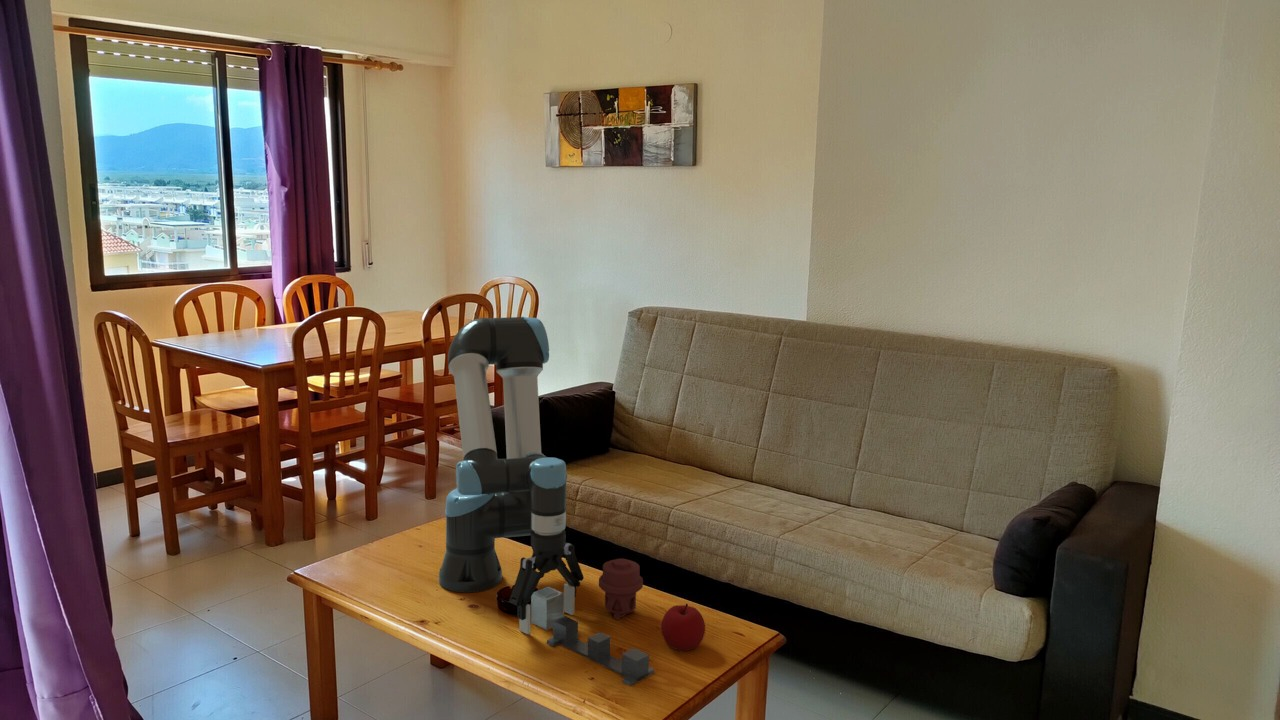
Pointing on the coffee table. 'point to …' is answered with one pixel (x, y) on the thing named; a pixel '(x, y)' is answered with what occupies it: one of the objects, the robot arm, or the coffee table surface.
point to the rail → (601, 651)
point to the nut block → (546, 607)
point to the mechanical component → (620, 586)
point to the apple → (683, 627)
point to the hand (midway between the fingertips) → (547, 622)
